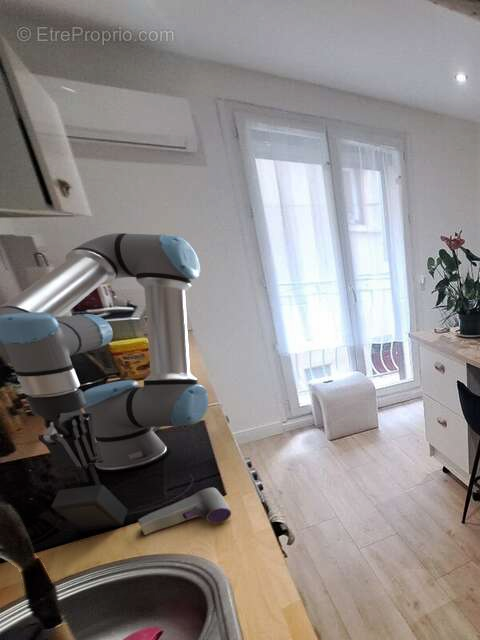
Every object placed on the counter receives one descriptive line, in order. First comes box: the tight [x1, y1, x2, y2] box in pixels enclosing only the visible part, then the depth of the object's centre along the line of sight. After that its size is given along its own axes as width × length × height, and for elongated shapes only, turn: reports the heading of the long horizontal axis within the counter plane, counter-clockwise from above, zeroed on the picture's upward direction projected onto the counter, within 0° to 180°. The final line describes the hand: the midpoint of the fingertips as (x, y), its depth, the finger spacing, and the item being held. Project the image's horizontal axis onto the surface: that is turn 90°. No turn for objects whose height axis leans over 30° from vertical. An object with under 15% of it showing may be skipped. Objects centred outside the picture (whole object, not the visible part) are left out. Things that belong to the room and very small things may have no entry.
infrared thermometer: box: [137, 487, 232, 536], centre depth 94 cm, size 5×12×15 cm
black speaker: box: [50, 484, 128, 533], centre depth 89 cm, size 4×7×11 cm, turn 112°
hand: (92, 492), depth 90 cm, fingers closed
